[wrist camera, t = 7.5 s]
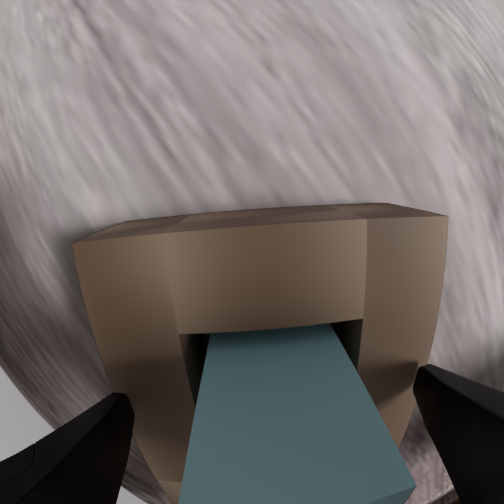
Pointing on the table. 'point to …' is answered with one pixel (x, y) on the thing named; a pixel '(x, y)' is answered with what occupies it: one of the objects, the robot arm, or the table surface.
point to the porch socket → (259, 303)
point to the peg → (288, 425)
